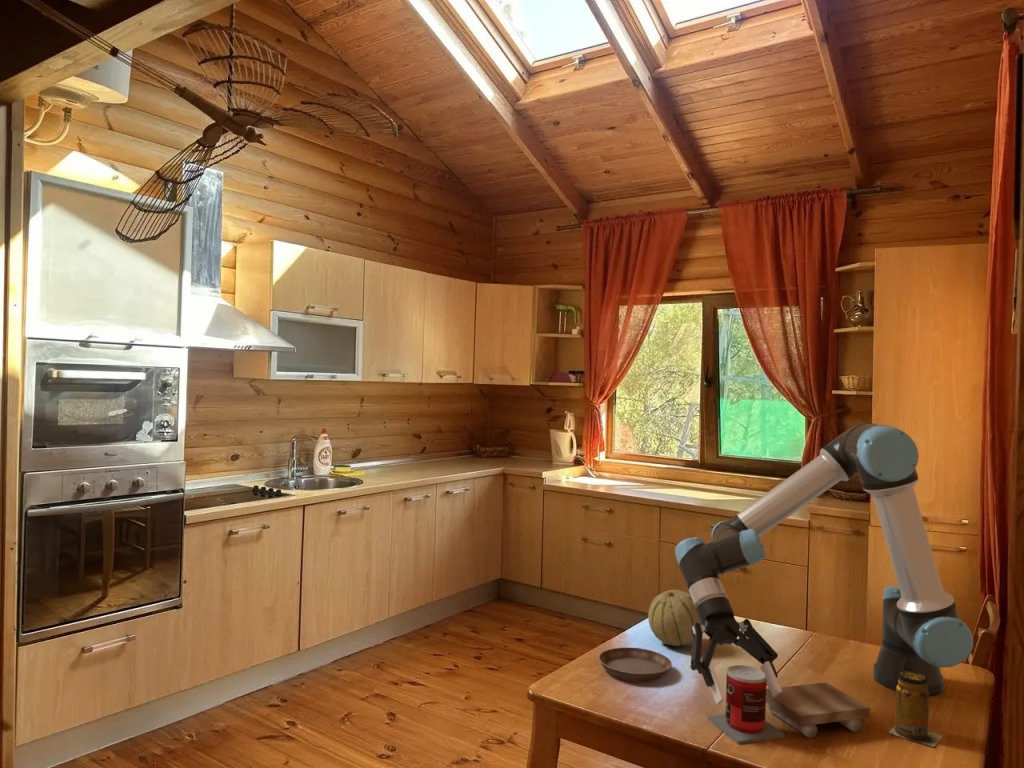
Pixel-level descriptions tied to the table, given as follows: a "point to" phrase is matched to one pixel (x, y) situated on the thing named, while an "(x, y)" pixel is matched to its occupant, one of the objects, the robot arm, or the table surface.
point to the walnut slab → (816, 707)
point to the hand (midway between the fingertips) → (749, 698)
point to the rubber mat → (742, 737)
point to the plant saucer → (635, 664)
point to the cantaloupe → (673, 617)
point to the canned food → (745, 699)
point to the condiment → (913, 710)
